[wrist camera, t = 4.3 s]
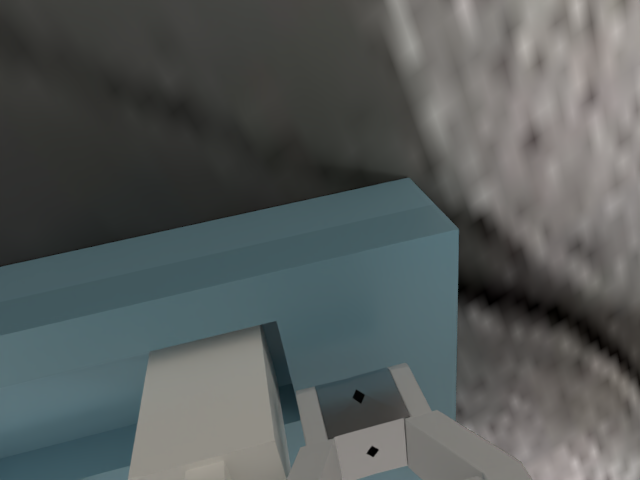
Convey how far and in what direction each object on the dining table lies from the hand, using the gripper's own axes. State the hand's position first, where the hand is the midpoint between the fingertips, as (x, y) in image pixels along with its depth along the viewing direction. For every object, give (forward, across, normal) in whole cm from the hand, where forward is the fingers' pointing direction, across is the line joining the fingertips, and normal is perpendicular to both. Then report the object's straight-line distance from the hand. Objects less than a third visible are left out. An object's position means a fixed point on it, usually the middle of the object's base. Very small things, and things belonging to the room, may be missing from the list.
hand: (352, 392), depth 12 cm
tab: (+3, +4, 0) cm, 4 cm away
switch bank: (+5, +6, +4) cm, 8 cm away
